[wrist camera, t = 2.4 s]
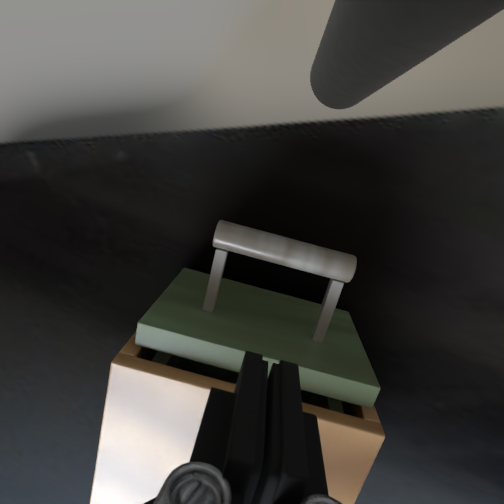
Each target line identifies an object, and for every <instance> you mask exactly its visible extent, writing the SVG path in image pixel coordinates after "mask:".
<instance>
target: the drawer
mask: <svg viewBox="0 0 504 504" xmlns="http://www.w3.org/2000/svg"><path fill="white" fill-rule="evenodd" d="M213 246H214V247H216V248H217V249H216V251H215V256H214V260H213V264H212V268H211V273H210V274H206V273H203V272H199V271H195V270H192V269H188V268H184V269H183V270H182V271H181V272H180V273H179V274H178V276H177V277H176V278H175V279H174V280H173V282H172V283H171V284H170V285H169V286H168V287H167V289H166V290H165V291H164V292H163V293H162V295H161V296H160V297H159V298H158V299H157V300H156V302H155V303H154V304H153V305H152V306H151V308H150V309H149V310H148V311H147V312H146V314H145V315H144V316H143V317H142V318H141V319H140V321H139V322H138V324H137V330H136V336H135V342H134V344H135V345H138V346H142V347H146V348H150V349H153V350H157V353H156V354H155V356H154V357H153V359H152V362H156V363H159V364H163V365H167V366H170V367H174V368H178V369H182V370H185V371H189V372H193V373H196V374H200V375H204V376H207V377H211V378H215V379H218V380H222V381H226V382H229V383H233V384H236V383H237V379H238V376H239V372H240V369H241V365H242V362H243V358H244V355H245V352H246V351H250V352H254V353H258V354H261V355H263V360H265V361H268V376H269V373H270V370H271V367H272V364H273V363H277V364H279V362H280V360H284V361H287V362H291V363H295V364H298V367H299V377H300V387H301V398H302V402H303V403H307V404H311V405H314V406H318V407H322V408H325V409H329V410H333V411H336V412H340V413H344V411H343V406H342V402H341V401H345V402H349V403H352V404H356V405H360V406H364V407H367V408H372V407H373V405H374V402H375V400H376V398H377V395H378V393H379V391H380V385H379V383H378V381H377V378H376V376H375V373H374V371H373V369H372V366H371V364H370V362H369V359H368V357H367V355H366V352H365V350H364V347H363V345H362V343H361V340H360V338H359V336H358V333H357V331H356V328H355V326H354V324H353V321H352V319H351V317H350V314H349V312H348V311H344V310H340V309H337V308H335V307H336V304H337V302H338V299H339V296H340V293H341V290H342V288H343V285H344V282H350V281H351V279H352V278H353V276H354V273H355V270H356V265H357V259H356V256H354V255H351V254H347V253H343V252H339V251H336V250H332V249H328V248H325V247H321V246H317V245H313V244H310V243H306V242H302V241H298V240H295V239H291V238H287V237H283V236H280V235H276V234H272V233H269V232H265V231H261V230H257V229H254V228H250V227H246V226H242V225H239V224H235V223H231V222H227V221H224V220H220V221H219V222H218V224H217V227H216V230H215V233H214V238H213ZM229 251H231V252H235V253H238V254H242V255H246V256H250V257H253V258H257V259H261V260H265V261H268V262H272V263H276V264H279V265H283V266H287V267H291V268H294V269H298V270H302V271H306V272H309V273H313V274H317V275H320V276H324V277H328V278H330V281H329V284H328V287H327V290H326V293H325V296H324V299H323V302H322V304H318V303H314V302H311V301H307V300H303V299H299V298H296V297H292V296H288V295H284V294H281V293H277V292H273V291H270V290H266V289H262V288H258V287H255V286H251V285H247V284H244V283H240V282H236V281H232V280H229V279H225V278H222V276H223V272H224V268H225V264H226V260H227V256H228V252H229Z"/></svg>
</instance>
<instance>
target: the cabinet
mask: <svg viewBox="0 0 504 504" xmlns="http://www.w3.org/2000/svg"><path fill="white" fill-rule="evenodd" d="M135 336H136V332H135V333H134V335H133V336H132V337H131V338H130V340H129V341H128V342H127V343H126V344H125V346H124V347H123V348H122V349H121V351H120V352H119V353H118V354H117V356H116V357H115V358H114V359H113V361H112V362H111V367H110V374H109V380H108V387H107V393H106V400H105V406H104V413H103V419H102V426H101V433H100V439H99V446H98V452H97V459H96V465H95V472H94V478H93V485H92V491H91V498H90V504H144V503H146V502H148V501H149V500H151V499H153V498H155V497H157V495H158V493H159V491H160V489H161V487H162V486H163V484H164V482H165V480H166V478H167V477H168V476H169V474H170V473H171V472H172V470H174V469H175V468H177V467H178V466H180V465H182V464H185V463H188V462H190V458H191V455H192V451H193V448H194V444H195V441H196V438H197V434H198V431H199V427H200V424H201V421H202V417H203V414H204V410H205V407H206V403H207V400H208V397H209V393H210V390H211V387H214V388H218V389H221V390H225V391H229V392H233V393H234V390H235V386H236V384H233V383H229V382H226V381H222V380H218V379H215V378H211V377H207V376H204V375H200V374H196V373H193V372H189V371H185V370H182V369H178V368H174V367H170V366H167V365H163V364H159V363H156V362H152V359H153V357H154V356H155V354H156V353H157V350H153V349H150V348H146V347H142V346H138V345H135V344H134V342H135ZM341 402H342V406H343V411H344V413H340V412H336V411H333V410H329V409H325V408H322V407H318V406H314V405H311V404H307V403H303V402H302V408H303V412H307V413H311V414H315V415H316V417H317V421H318V427H319V434H320V441H321V447H322V454H323V461H324V467H325V474H326V481H327V487H328V494H329V496H330V497H332V498H334V499H336V500H338V501H339V502H341V503H342V504H354V503H355V501H356V499H357V496H358V494H359V492H360V490H361V488H362V486H363V484H364V481H365V479H366V477H367V475H368V473H369V471H370V469H371V466H372V464H373V462H374V460H375V458H376V456H377V453H378V451H379V449H380V447H381V445H382V443H383V441H384V438H385V434H384V431H383V428H382V426H381V424H380V420H379V418H378V415H377V412H376V409H375V407H374V405H373V407H372V408H367V407H364V406H360V405H356V404H352V403H349V402H345V401H341Z"/></svg>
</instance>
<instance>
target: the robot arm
mask: <svg viewBox="0 0 504 504" xmlns="http://www.w3.org/2000/svg"><path fill="white" fill-rule="evenodd" d="M144 504H342V503H341V502H339V501H338V500H336V499H334V498H332V497H330V496H329V494H328V487H327V481H326V474H325V467H324V461H323V454H322V447H321V441H320V434H319V427H318V421H317V417H316V415H315V414H311V413H307V412H303V408H302V398H301V387H300V377H299V367H298V364H295V363H291V362H287V361H284V360H280V362H279V364H277V363H273V364H272V367H271V370H270V373H269V376H268V361H265V360H263V355H261V354H258V353H254V352H250V351H246V352H245V355H244V358H243V362H242V365H241V369H240V372H239V376H238V379H237V383H236V386H235V390H234V393H233V392H229V391H225V390H221V389H218V388H214V387H211V390H210V393H209V397H208V400H207V403H206V407H205V410H204V414H203V417H202V421H201V424H200V427H199V431H198V434H197V438H196V441H195V444H194V448H193V451H192V455H191V458H190V462H188V463H185V464H182V465H180V466H178V467H177V468H175V469H174V470H172V472H171V473H170V474H169V476H168V477H167V478H166V480H165V482H164V484H163V486H162V487H161V489H160V491H159V493H158V495H157V497H155V498H153V499H151V500H149V501H148V502H146V503H144Z"/></svg>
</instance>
